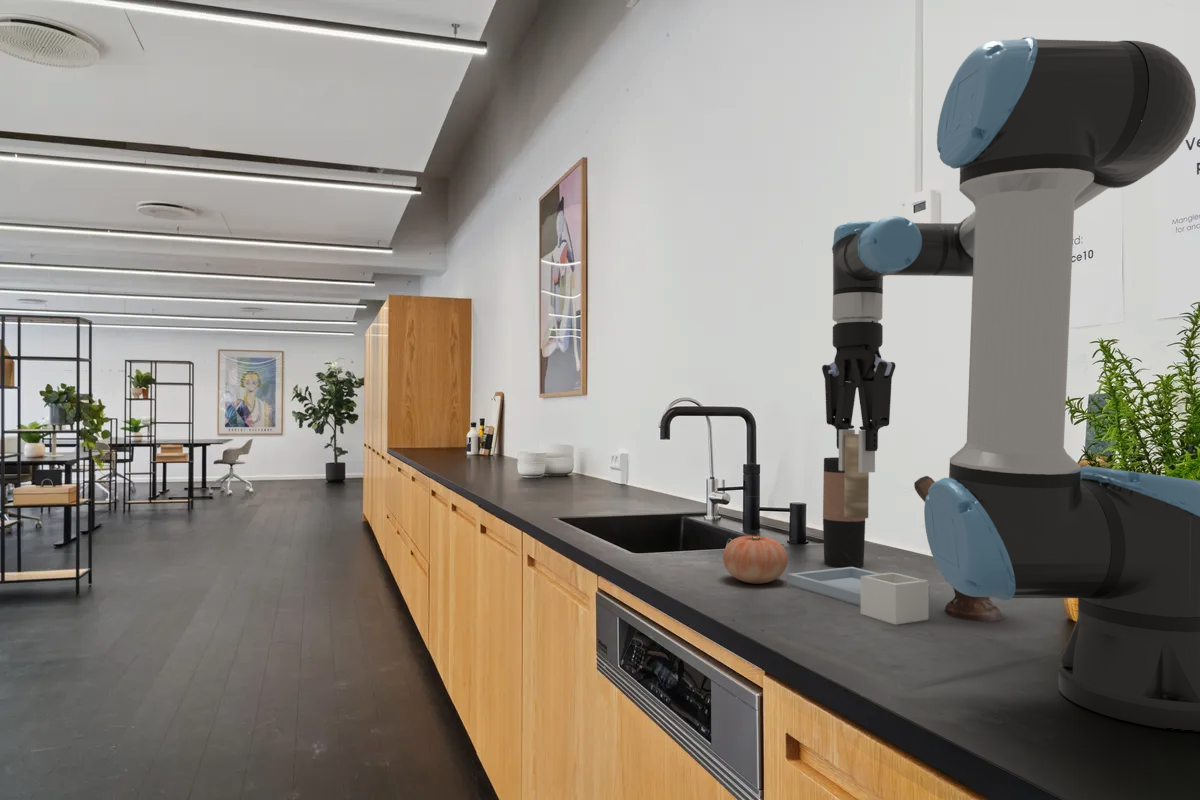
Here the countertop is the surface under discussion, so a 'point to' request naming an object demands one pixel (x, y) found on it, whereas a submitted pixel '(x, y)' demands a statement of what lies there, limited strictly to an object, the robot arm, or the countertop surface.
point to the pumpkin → (755, 559)
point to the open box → (894, 598)
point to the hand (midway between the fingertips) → (856, 470)
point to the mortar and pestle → (961, 603)
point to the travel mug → (840, 522)
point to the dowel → (855, 481)
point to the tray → (832, 583)
